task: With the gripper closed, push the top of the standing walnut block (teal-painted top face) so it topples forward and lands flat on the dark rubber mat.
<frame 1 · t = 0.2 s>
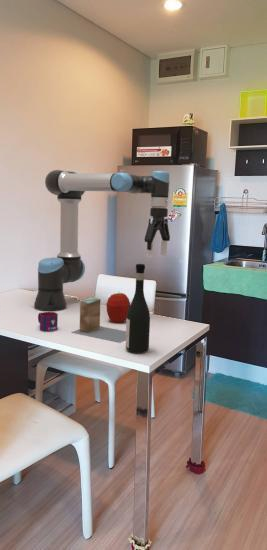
hand: (156, 256, 189), 28 cm above the table, fingers open, 13 cm apart
apple: (117, 323, 183), on the table
wine bottle: (137, 350, 148), on the table
mug: (46, 330, 169), on the table
mat: (104, 334, 165), on the table
block: (89, 330, 168), point 1 cm above the table, touching mat
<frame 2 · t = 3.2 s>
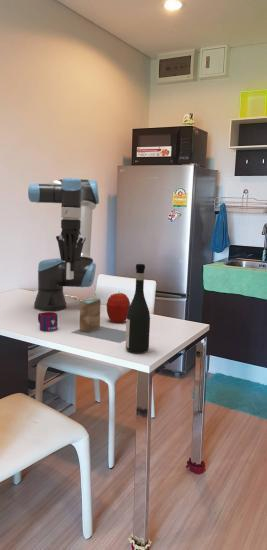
hand: (69, 278, 170), 20 cm above the table, fingers closed
nothing on the table moved.
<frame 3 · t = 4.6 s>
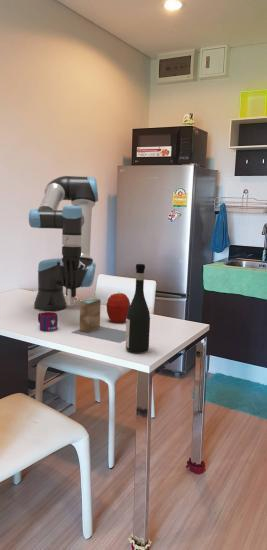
hand: (70, 304, 171), 9 cm above the table, fingers closed
nothing on the table moved.
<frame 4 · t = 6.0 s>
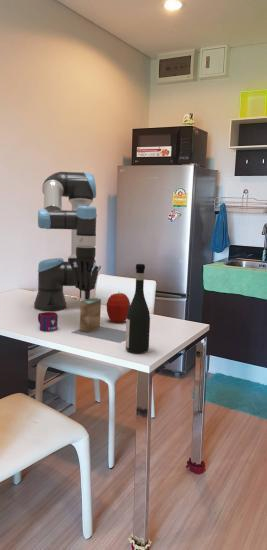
hand: (84, 306, 168), 10 cm above the table, fingers closed
block: (89, 329, 168), point 1 cm above the table, touching gripper, mat
everything else where it was.
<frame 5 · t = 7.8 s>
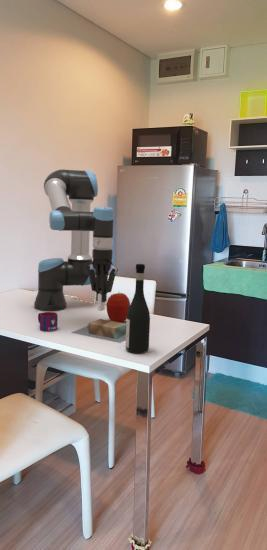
hand: (100, 309, 165), 9 cm above the table, fingers closed
block: (94, 325, 167), point 3 cm above the table, tilted 90°, touching mat
everything else where it was.
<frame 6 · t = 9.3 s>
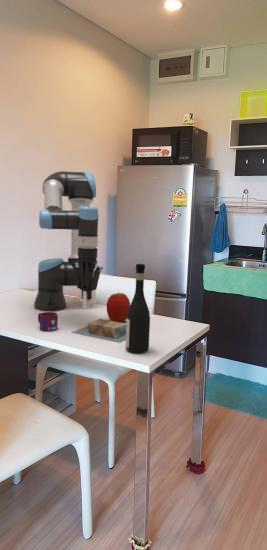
hand: (86, 307, 168), 9 cm above the table, fingers closed
nothing on the table moved.
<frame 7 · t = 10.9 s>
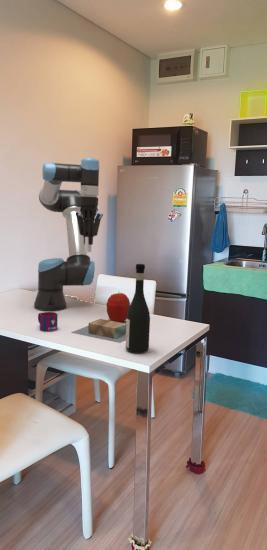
hand: (88, 252, 184), 29 cm above the table, fingers closed
nothing on the table moved.
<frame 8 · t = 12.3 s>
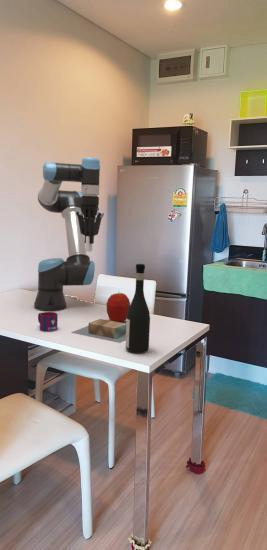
hand: (88, 251, 185), 29 cm above the table, fingers closed
nothing on the table moved.
at the end: block tilted 90°; block inside the target area (5.4 cm from its centre), point 2.6 cm above the table; the gripper is holding nothing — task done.
